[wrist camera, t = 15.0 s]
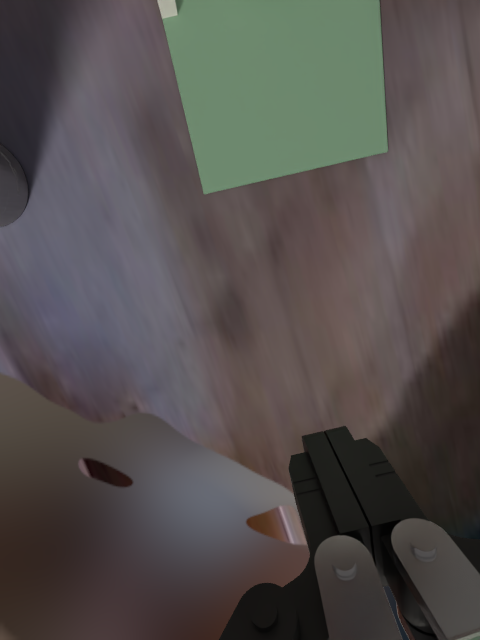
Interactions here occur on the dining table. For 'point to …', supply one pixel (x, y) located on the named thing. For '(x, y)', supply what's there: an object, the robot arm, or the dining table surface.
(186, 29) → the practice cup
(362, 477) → the robot arm
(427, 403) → the dining table surface
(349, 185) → the dining table surface
